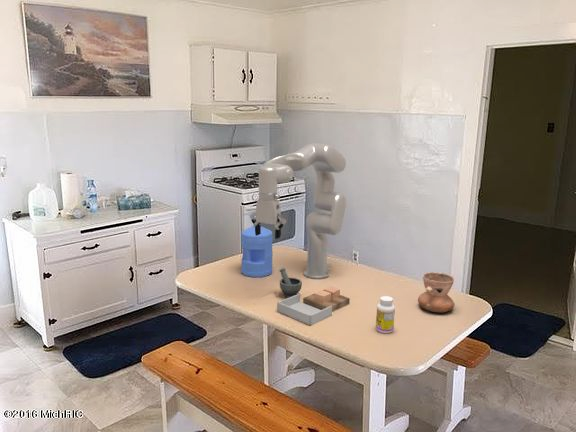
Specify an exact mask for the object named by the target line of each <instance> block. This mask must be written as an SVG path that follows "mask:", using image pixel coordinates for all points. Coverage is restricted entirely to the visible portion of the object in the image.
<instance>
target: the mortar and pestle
mask: <svg viewBox="0 0 576 432" xmlns="http://www.w3.org/2000/svg"><path fill="white" fill-rule="evenodd" d="M279 272H280V275H281V277H282V278H281V279H280V280H279V288H280V290H281V292H282V295H283V298H284V299H287V298H290V297H292V296H295V295H297V294H299V292H300V291H301V289H302V285H303V282H302V280H301V279H300V278H296V277H289V276H288V273H287V270H286V268H285V267H282V268H280V269H279Z"/></svg>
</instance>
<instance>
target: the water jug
mask: <svg viewBox="0 0 576 432" xmlns="http://www.w3.org/2000/svg"><path fill="white" fill-rule="evenodd" d="M254 217H255V219H256V216H254ZM259 225H260V226H261V223H260V224H259ZM240 233H241V234H240V244H241V247H242V257H241V260H240V261H241V267H240V272H241V273H242V275H244V276H247V277H252V278H262V277H268V276H270V275H271V274H272V273H273V255H274V254H273V240H274V236H273V231H272V230H270V229H269V228H265V227H264V226H261V234H260V235H257V236H256V235H255V226H254V225H252V226H250V227H248V228H246V229H244V230H241V232H240Z"/></svg>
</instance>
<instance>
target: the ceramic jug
mask: <svg viewBox="0 0 576 432" xmlns="http://www.w3.org/2000/svg"><path fill="white" fill-rule="evenodd" d="M422 280H423V281H422V282H423V284H424V288H425V291H424V292H423V293H421V294H419V296H418V297H417V302H418V303H417V304H419V306H420V307H421V308H422V309H424V310H426V311H429V312H432V313H446V312H450V311H451V310H452V309H453V308H454V306H455V303H454V302H455V301H454V300H453V298H451V296H450V295H448V294H449V292H450V290H451V288H452V287H453V285H454V282H455V278H454V277H453V276H452V275H450V274H448V273H446V272H445V273H444V272H440V271H429V272H425V273H423V275H422Z"/></svg>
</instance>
